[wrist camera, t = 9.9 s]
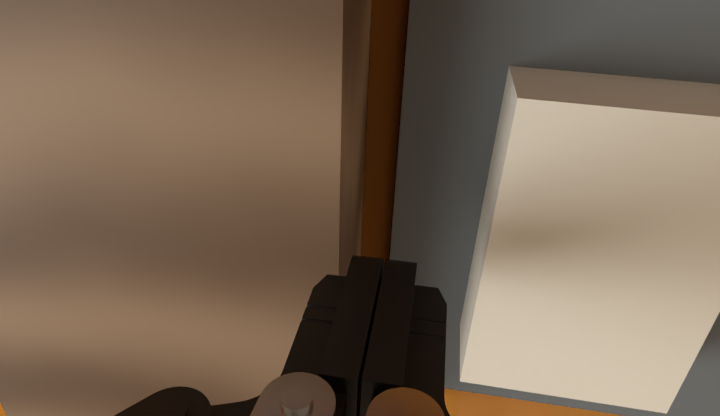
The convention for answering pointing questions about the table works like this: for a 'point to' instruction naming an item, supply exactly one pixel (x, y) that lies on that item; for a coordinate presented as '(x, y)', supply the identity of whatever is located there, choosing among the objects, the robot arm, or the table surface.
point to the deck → (171, 192)
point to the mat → (480, 120)
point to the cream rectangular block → (596, 239)
